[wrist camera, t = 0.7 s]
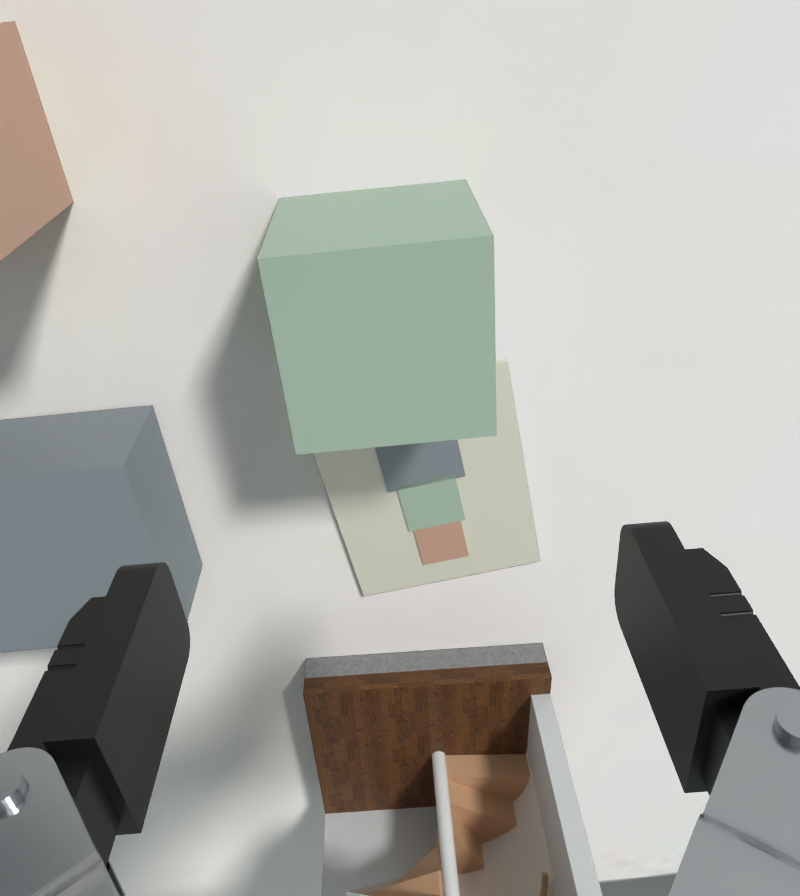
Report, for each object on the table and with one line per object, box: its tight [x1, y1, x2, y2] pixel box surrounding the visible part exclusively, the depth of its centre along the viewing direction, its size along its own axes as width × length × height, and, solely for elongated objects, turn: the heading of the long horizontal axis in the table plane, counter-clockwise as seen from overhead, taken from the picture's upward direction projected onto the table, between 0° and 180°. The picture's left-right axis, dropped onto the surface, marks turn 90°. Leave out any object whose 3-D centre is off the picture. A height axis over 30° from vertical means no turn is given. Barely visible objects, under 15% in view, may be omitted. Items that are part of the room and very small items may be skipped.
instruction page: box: [313, 359, 541, 596], centre depth 30 cm, size 10×8×1 cm
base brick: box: [0, 405, 202, 652], centre depth 28 cm, size 8×8×4 cm
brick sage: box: [257, 179, 497, 455], centre depth 23 cm, size 6×6×6 cm
